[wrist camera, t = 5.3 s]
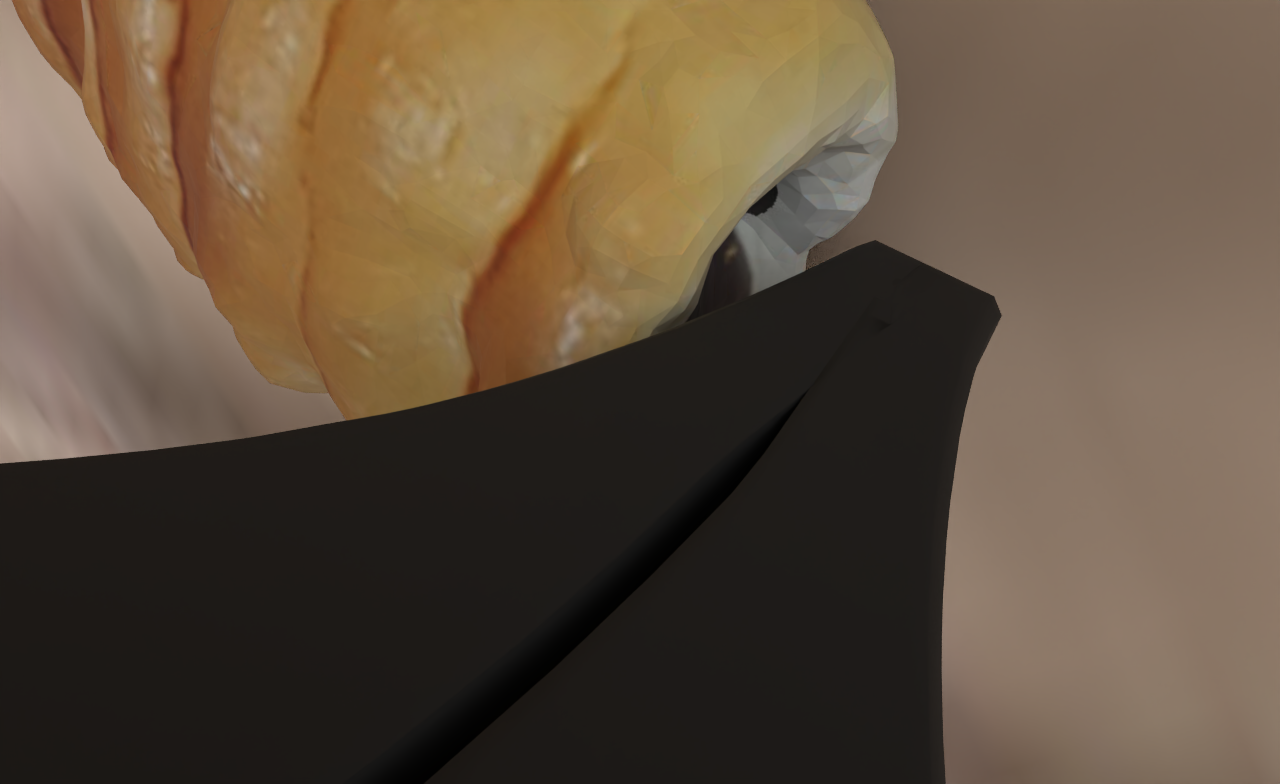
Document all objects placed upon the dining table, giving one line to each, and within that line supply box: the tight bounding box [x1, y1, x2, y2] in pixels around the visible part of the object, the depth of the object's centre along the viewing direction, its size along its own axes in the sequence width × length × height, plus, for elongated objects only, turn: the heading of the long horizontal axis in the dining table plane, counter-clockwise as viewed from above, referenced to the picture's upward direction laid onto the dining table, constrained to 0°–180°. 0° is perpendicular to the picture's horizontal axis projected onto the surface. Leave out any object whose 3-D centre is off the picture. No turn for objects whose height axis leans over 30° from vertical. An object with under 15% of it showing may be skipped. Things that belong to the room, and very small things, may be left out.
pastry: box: [12, 0, 898, 420], centre depth 10 cm, size 9×7×4 cm
